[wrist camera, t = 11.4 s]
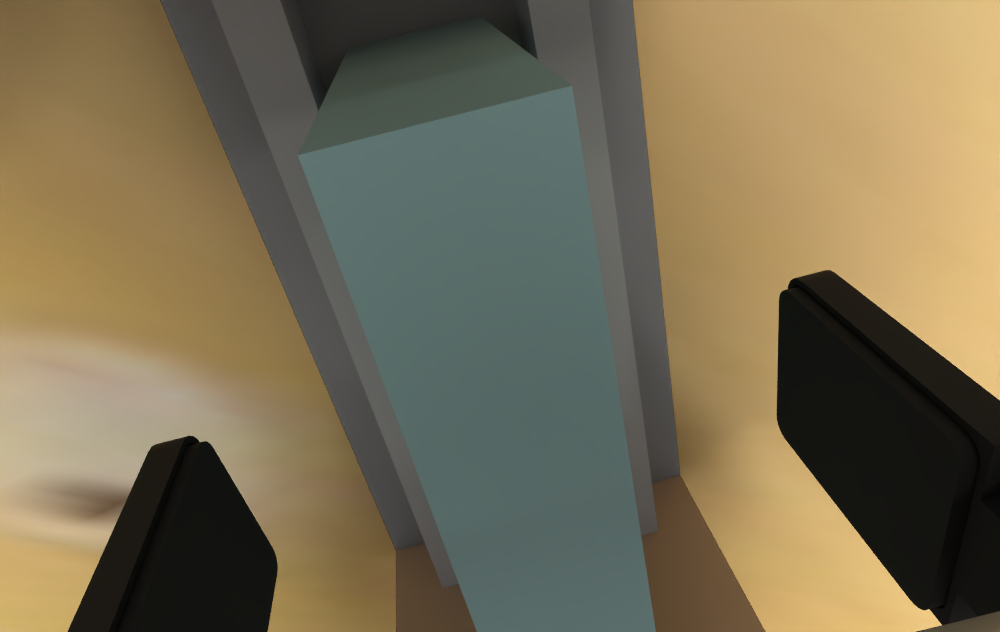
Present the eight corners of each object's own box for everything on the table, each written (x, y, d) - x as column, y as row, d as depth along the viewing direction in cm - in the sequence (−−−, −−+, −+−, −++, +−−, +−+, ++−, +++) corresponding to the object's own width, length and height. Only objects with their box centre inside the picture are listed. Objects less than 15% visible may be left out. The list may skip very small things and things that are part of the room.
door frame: (99, -179, 13) (-1020, -673, 3) (587, -297, 13) (1278, -1181, 3) (407, 556, 24) (418, 1017, 14) (672, 486, 24) (882, 889, 14)
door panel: (344, 48, 15) (289, 157, 7) (483, 14, 15) (580, 83, 7) (469, 447, 21) (514, 746, 13) (568, 421, 21) (672, 704, 13)
